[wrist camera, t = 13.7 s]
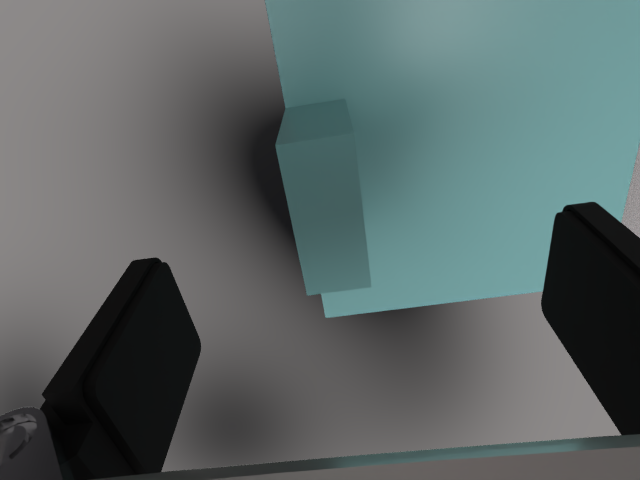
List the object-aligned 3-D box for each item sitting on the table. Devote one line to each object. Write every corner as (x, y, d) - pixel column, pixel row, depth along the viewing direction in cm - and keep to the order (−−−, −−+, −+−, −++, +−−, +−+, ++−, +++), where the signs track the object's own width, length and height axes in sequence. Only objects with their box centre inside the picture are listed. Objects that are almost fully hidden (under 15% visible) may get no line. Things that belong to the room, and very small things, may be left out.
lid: (263, -44, 17) (229, -68, 10) (651, -117, 16) (881, -193, 9) (324, 290, 25) (327, 391, 19) (581, 257, 24) (676, 353, 18)
